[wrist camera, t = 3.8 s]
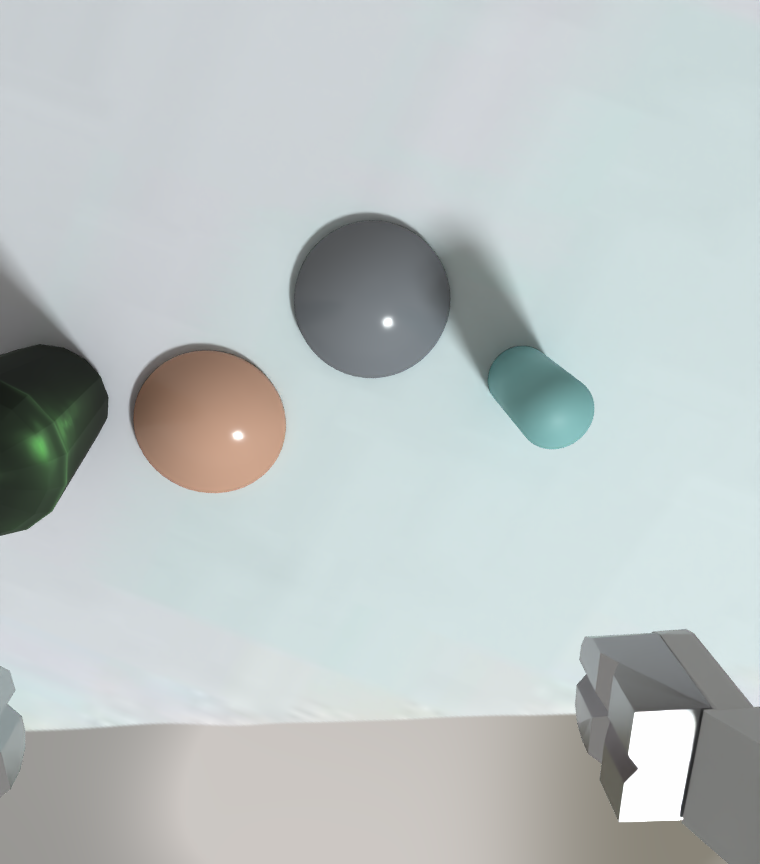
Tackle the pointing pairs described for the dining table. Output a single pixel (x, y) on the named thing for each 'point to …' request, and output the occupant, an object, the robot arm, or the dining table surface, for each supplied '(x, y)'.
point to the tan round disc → (209, 421)
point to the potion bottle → (44, 429)
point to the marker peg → (541, 397)
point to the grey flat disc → (372, 299)
